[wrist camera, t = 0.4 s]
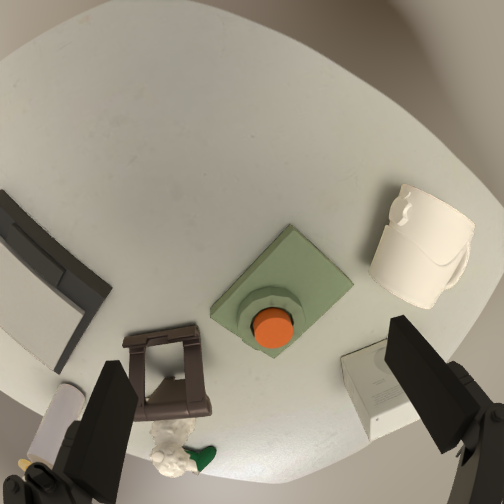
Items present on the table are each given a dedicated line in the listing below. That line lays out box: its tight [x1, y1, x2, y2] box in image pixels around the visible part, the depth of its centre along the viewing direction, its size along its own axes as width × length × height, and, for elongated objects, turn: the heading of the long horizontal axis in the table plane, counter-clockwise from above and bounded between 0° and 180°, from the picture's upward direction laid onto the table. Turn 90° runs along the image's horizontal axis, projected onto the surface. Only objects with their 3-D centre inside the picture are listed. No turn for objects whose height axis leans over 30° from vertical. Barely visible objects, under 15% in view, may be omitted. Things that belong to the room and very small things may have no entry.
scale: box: [0, 190, 112, 375], centre depth 26 cm, size 16×18×3 cm
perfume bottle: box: [18, 384, 85, 481], centre depth 25 cm, size 6×6×20 cm
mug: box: [368, 184, 475, 309], centre depth 26 cm, size 12×9×8 cm
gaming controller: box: [183, 447, 217, 475], centre depth 39 cm, size 9×4×6 cm
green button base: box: [210, 224, 354, 358], centre depth 29 cm, size 12×9×4 cm
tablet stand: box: [122, 325, 212, 422], centre depth 29 cm, size 9×8×8 cm
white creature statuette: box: [146, 398, 198, 478], centre depth 30 cm, size 10×9×12 cm
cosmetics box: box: [341, 339, 420, 441], centre depth 31 cm, size 10×6×10 cm, turn 107°
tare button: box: [253, 308, 293, 348], centre depth 27 cm, size 4×4×2 cm
